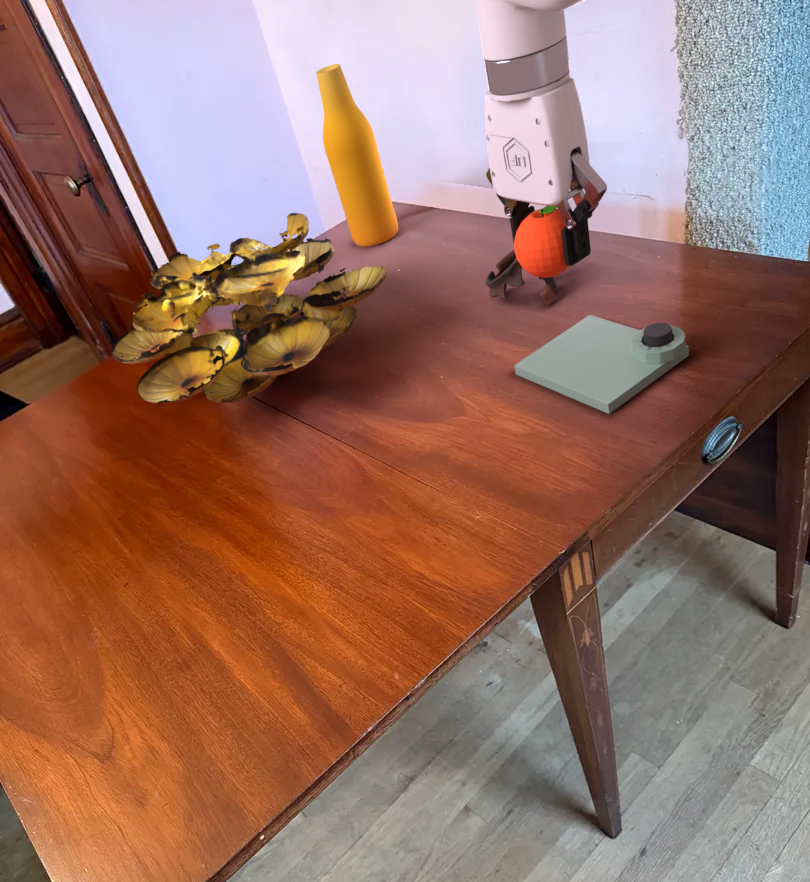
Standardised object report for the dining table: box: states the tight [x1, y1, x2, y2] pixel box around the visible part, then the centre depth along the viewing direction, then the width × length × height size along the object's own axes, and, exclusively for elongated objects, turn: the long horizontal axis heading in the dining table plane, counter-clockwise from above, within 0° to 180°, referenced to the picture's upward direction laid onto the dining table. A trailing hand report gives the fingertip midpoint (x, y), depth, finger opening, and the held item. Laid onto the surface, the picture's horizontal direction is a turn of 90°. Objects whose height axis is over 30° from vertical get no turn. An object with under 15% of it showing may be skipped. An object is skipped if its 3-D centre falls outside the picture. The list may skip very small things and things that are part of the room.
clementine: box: [513, 205, 571, 278], centre depth 80 cm, size 8×7×7 cm
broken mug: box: [484, 249, 560, 307], centre depth 111 cm, size 12×10×8 cm
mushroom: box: [110, 212, 388, 404], centre depth 111 cm, size 41×45×17 cm
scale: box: [513, 314, 690, 415], centre depth 93 cm, size 16×15×3 cm
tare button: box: [643, 322, 672, 347], centre depth 89 cm, size 3×3×2 cm
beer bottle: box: [315, 63, 399, 248], centre depth 135 cm, size 9×9×29 cm
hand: (551, 252), depth 81 cm, fingers closed on clementine, 7 cm apart
